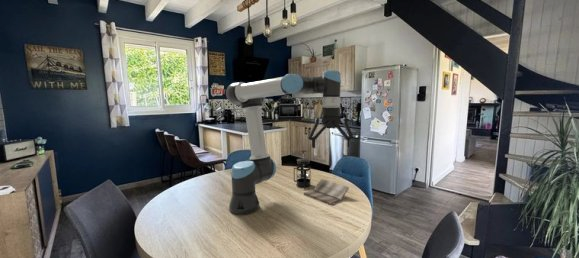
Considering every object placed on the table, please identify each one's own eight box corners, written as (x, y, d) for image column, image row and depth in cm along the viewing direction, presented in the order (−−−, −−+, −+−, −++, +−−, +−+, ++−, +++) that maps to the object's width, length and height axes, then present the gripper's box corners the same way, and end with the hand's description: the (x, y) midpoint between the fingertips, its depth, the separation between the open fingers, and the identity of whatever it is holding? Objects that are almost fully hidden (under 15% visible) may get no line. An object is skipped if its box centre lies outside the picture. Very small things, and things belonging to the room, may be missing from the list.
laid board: (303, 194, 142) (303, 192, 142) (312, 191, 147) (312, 188, 147) (330, 205, 127) (330, 202, 127) (339, 201, 132) (339, 198, 132)
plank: (314, 190, 147) (313, 189, 147) (322, 180, 152) (321, 178, 151) (340, 200, 132) (339, 199, 132) (348, 188, 136) (348, 186, 136)
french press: (309, 182, 163) (309, 148, 161) (313, 187, 154) (313, 151, 152) (292, 183, 162) (292, 149, 159) (295, 188, 152) (294, 152, 150)
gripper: (304, 107, 101) (304, 157, 103) (362, 107, 103) (360, 156, 106) (301, 106, 108) (301, 153, 111) (355, 106, 111) (354, 152, 113)
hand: (330, 154), depth 108 cm, fingers open, 13 cm apart
